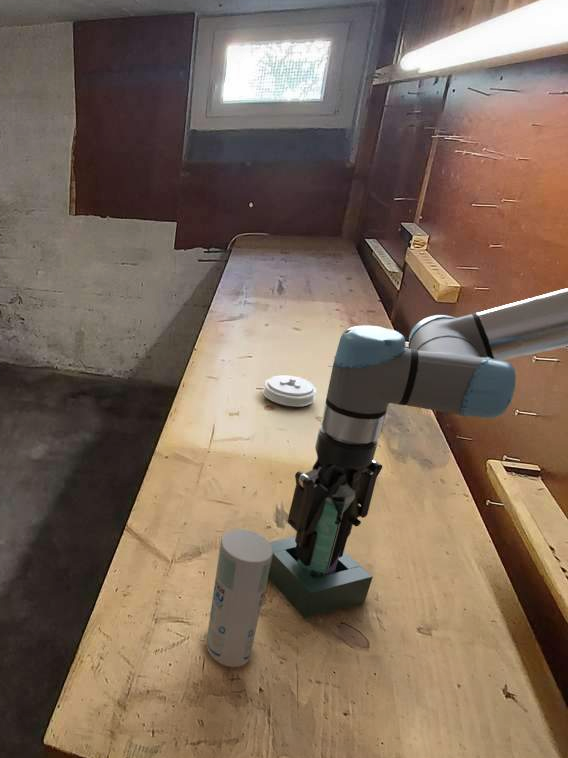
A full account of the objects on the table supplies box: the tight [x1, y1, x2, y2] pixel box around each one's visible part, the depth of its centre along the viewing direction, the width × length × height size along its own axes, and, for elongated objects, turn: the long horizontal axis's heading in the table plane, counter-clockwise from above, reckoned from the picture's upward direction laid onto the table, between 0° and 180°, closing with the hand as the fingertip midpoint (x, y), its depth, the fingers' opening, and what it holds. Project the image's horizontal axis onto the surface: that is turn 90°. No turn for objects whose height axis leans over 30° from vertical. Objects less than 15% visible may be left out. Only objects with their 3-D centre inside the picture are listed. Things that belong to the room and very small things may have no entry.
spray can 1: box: [206, 528, 273, 668], centre depth 79 cm, size 6×6×20 cm
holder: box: [268, 535, 374, 620], centre depth 92 cm, size 11×11×6 cm
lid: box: [263, 374, 317, 407], centre depth 151 cm, size 13×13×5 cm
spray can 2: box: [297, 482, 355, 578], centre depth 88 cm, size 6×6×20 cm
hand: (318, 555), depth 91 cm, fingers closed on spray can 2, 5 cm apart
